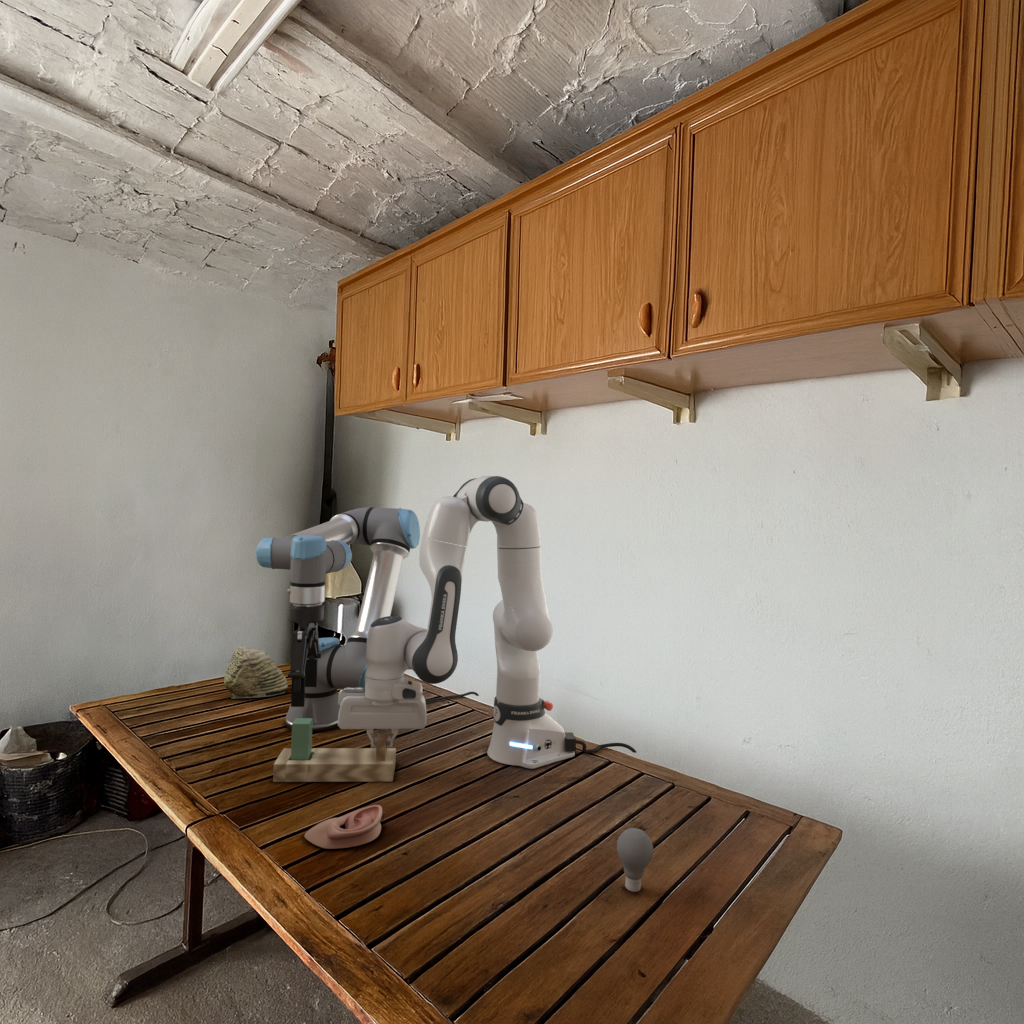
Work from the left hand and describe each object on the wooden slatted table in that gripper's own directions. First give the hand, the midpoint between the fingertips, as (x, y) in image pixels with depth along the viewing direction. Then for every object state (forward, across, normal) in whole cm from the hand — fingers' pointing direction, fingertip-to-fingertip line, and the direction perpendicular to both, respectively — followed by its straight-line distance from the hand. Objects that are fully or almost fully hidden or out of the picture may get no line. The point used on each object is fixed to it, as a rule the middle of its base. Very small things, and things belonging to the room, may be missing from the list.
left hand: (304, 696), depth 145 cm
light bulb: (+17, +47, +64) cm, 81 cm away
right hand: (+12, +1, +18) cm, 21 cm away
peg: (+18, +1, 0) cm, 18 cm away
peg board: (+18, +1, +8) cm, 19 cm away
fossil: (+18, -56, -26) cm, 64 cm away
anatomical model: (+17, +28, +14) cm, 35 cm away
